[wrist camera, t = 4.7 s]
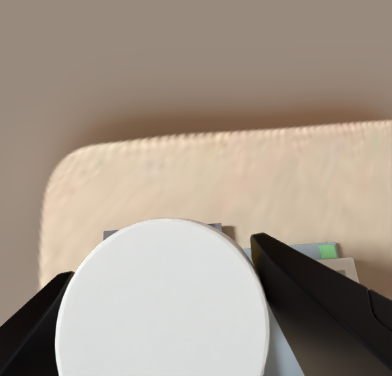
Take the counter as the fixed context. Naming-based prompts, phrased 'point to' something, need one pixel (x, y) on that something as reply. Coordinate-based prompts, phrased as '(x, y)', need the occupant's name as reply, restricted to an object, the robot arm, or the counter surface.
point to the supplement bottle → (164, 306)
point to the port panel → (279, 348)
